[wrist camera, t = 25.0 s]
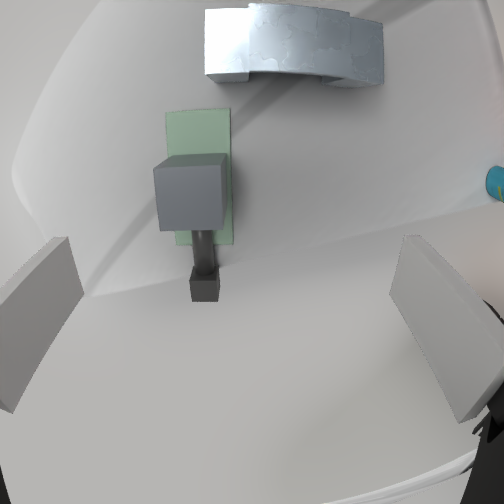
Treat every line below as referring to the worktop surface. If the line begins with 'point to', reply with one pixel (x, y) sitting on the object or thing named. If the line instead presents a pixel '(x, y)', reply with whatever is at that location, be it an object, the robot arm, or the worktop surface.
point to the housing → (293, 44)
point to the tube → (496, 183)
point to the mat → (202, 142)
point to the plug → (194, 211)
